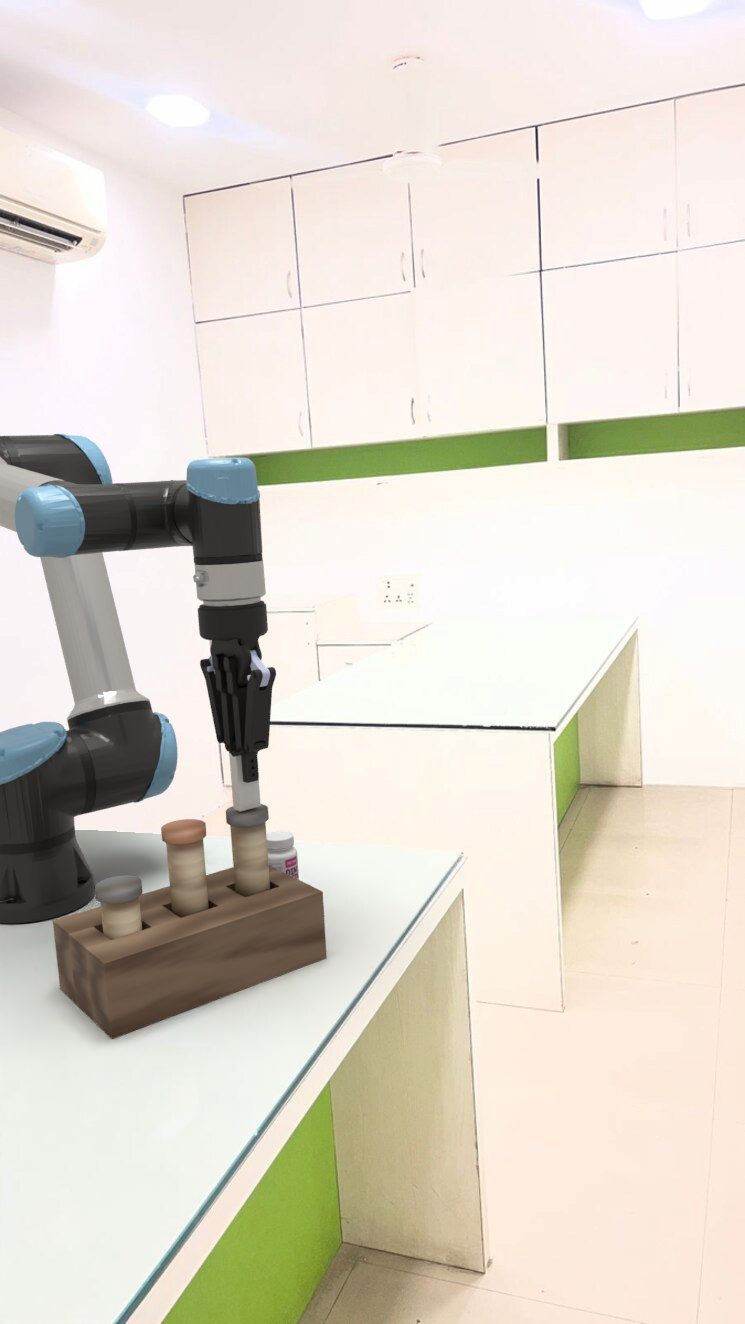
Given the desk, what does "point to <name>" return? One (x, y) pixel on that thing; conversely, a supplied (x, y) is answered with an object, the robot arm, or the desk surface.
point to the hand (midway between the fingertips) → (247, 807)
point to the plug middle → (186, 865)
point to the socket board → (188, 950)
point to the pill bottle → (282, 852)
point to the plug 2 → (249, 849)
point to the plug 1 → (120, 905)
